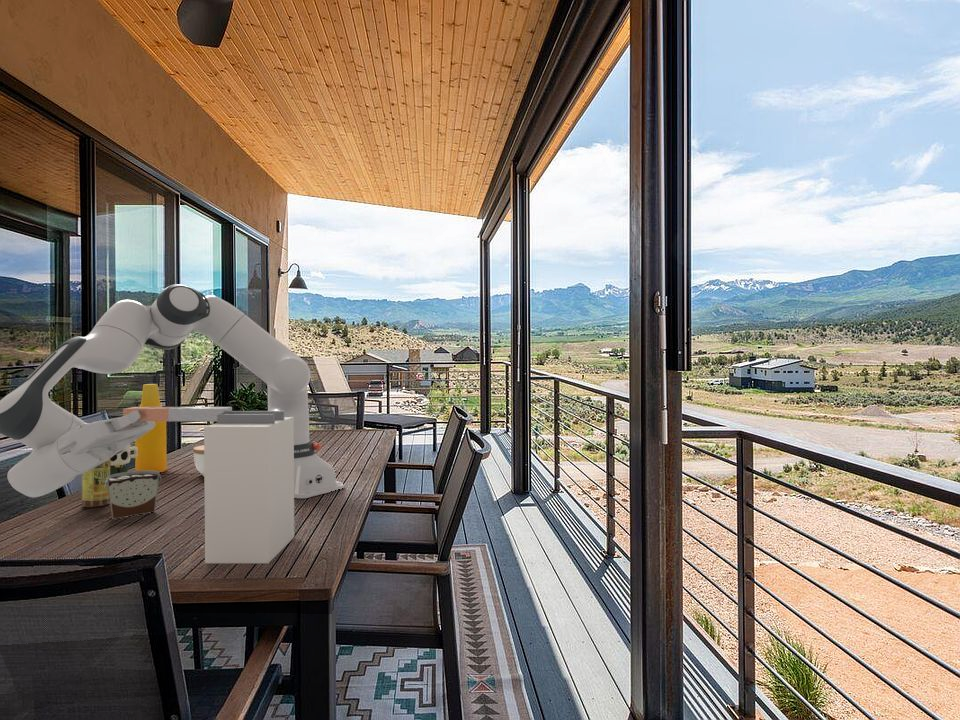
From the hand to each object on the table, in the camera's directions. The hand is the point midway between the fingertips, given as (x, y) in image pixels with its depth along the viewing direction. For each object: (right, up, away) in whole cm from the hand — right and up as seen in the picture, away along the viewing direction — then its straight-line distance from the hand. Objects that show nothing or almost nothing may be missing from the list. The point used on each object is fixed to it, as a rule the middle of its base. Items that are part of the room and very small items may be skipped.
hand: (147, 411), depth 122 cm
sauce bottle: (-33, -28, +35) cm, 55 cm away
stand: (+21, -28, +1) cm, 35 cm away
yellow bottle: (-42, -27, +78) cm, 93 cm away
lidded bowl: (-18, -27, +73) cm, 80 cm away
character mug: (-40, -27, +57) cm, 75 cm away
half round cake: (-19, -28, +27) cm, 43 cm away
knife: (+6, -2, 0) cm, 6 cm away
